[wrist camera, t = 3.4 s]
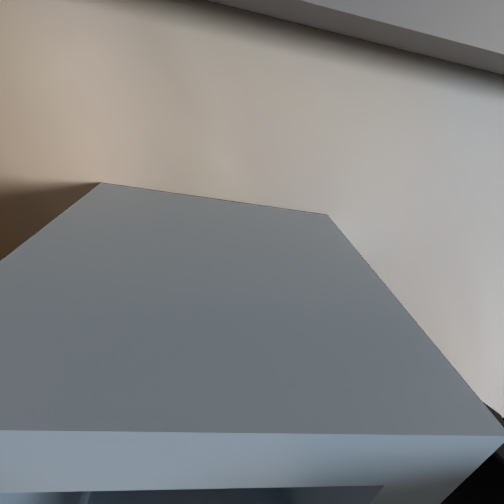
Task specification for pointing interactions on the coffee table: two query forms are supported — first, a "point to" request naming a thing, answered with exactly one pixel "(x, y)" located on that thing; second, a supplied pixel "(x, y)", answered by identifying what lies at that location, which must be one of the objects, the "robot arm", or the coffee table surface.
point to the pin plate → (404, 25)
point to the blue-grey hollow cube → (219, 364)
